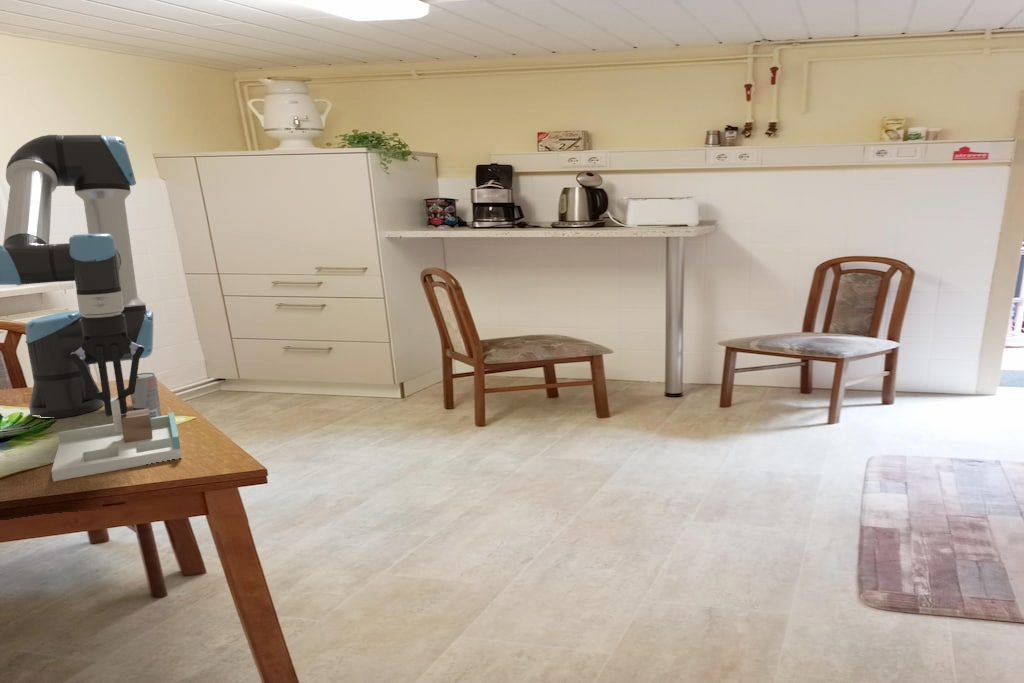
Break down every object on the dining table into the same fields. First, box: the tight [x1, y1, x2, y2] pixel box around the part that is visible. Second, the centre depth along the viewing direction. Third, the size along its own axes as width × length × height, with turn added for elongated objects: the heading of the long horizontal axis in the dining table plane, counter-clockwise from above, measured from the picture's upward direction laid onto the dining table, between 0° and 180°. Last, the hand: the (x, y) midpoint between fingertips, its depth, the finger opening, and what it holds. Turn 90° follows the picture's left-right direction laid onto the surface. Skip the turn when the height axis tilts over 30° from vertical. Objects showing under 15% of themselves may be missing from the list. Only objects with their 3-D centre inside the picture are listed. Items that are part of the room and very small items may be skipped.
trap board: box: [51, 411, 182, 483], centre depth 137 cm, size 18×21×4 cm
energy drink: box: [129, 372, 163, 418], centre depth 151 cm, size 5×5×12 cm
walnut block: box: [121, 408, 153, 443], centre depth 140 cm, size 5×5×5 cm
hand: (119, 430), depth 139 cm, fingers closed
